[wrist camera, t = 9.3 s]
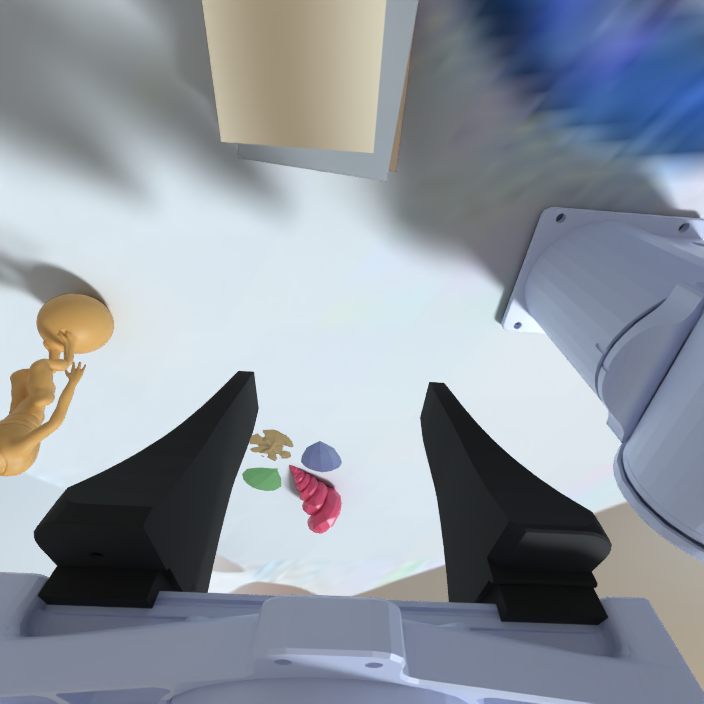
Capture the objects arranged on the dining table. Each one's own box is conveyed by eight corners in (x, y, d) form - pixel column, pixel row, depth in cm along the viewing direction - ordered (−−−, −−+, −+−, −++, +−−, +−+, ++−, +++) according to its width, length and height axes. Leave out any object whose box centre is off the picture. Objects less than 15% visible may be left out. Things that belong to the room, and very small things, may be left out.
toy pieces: (377, 460, 33) (378, 502, 30) (319, 510, 39) (314, 550, 35) (266, 409, 30) (253, 449, 26) (220, 472, 35) (203, 512, 32)
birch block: (382, -7, 11) (393, -83, 7) (370, 141, 13) (373, 153, 9) (256, -17, 11) (188, -100, 7) (266, 133, 13) (220, 141, 9)
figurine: (116, 261, 22) (-85, 379, 12) (180, 333, 25) (60, 473, 15) (33, 308, 24) (-192, 440, 14) (101, 369, 27) (-48, 511, 18)
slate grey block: (413, -6, 13) (424, -34, 10) (383, 171, 16) (386, 181, 14) (254, -36, 12) (226, -72, 10) (257, 151, 16) (238, 157, 13)
